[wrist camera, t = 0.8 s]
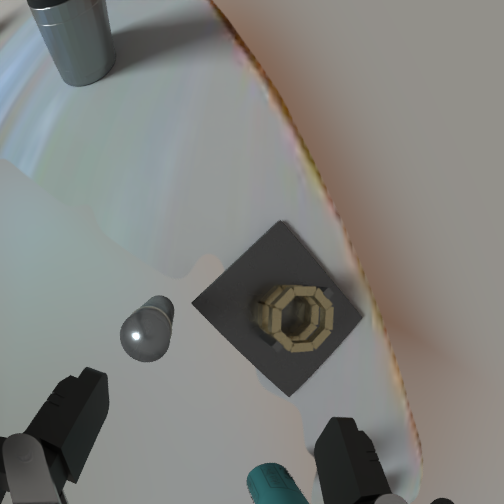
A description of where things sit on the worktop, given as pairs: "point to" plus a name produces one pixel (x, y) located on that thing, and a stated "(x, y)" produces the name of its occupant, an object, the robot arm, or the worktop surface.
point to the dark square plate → (279, 309)
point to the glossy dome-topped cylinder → (148, 330)
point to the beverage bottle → (273, 485)
